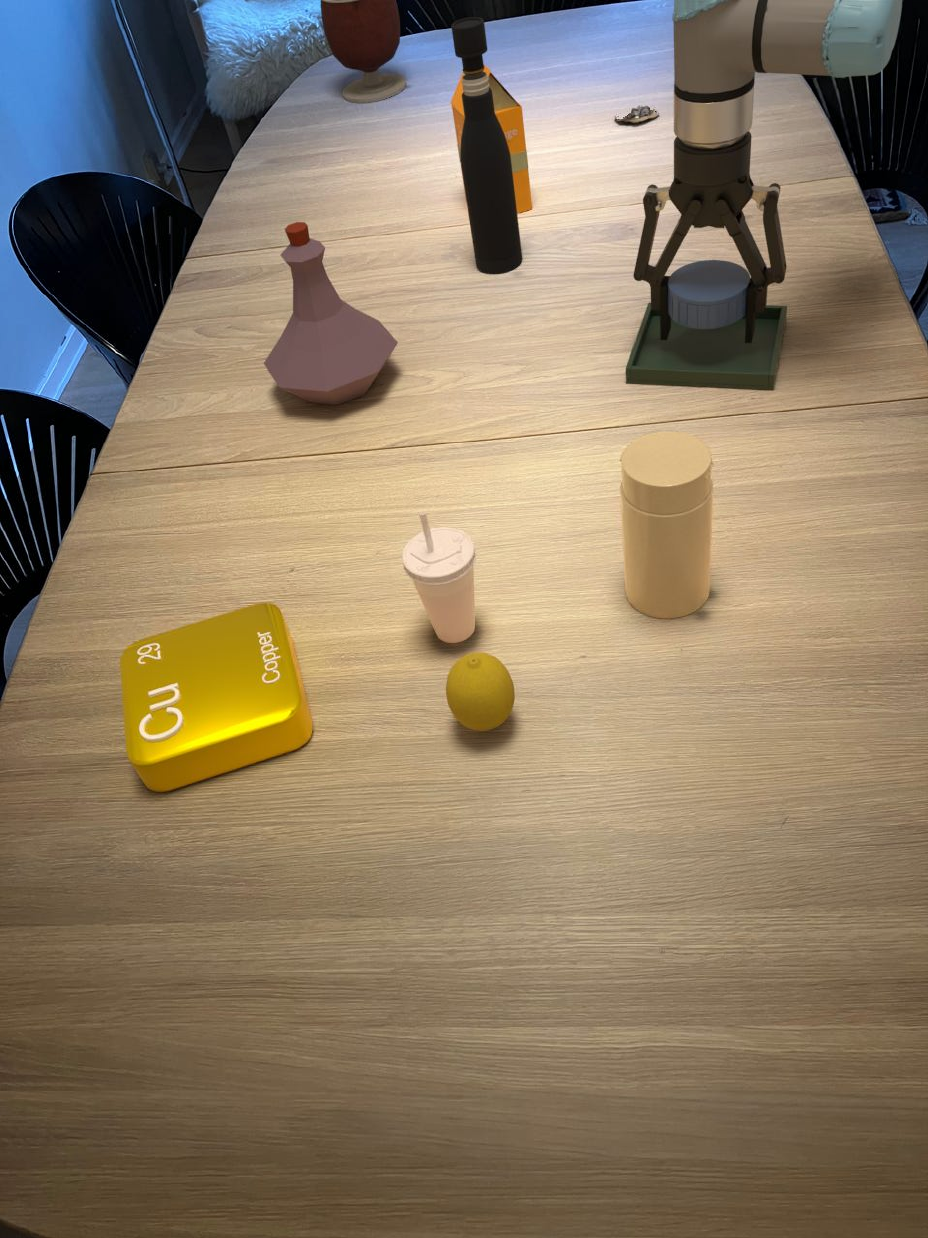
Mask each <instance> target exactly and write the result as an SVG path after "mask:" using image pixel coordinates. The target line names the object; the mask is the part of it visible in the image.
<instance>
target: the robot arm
mask: <svg viewBox="0 0 928 1238" xmlns="http://www.w3.org/2000/svg"><path fill="white" fill-rule="evenodd" d="M902 8H903V0H674V2H673V13H672V17H671V19H672V20H671V21H672V23H673V25H672V26H673V71H674V72H673V73H674V74H673V75H674V77H673V79H674V81H673V133H674V135H675V138H674V140H673V180H672V182H671V184H670V186H663V187H658V186H657V185H656V184H650V185H648V186H647V188H646V190H645V193H644V196H643V198H642V204H643V211H644V222H643V227H642V231H641V236H640V241H639V246H638V251H637V255H636V260H635V265H634V271H633V275H632V276H633V279H634V280H635V281H637V282H641V281H644V282H646V283H647V284H649V287H650V303H651V308H652V310H656V311H660V340H667V339H668V335H669V332H670V329H671V317H670V316H669V313H668V279H669V277H670V276H671V275H666V274H667V272H668V270H669V268H670V266H671V264H672V262H673V260H674V259H675V257H676V255H677V253H678V251H679V249H680V247H681V246H682V243H683V241H684V240H685V238H686V237H687V235H688V233H689V232H690V230H691V227H692V226H693V229H702V228H706V227H711V228H715V229H724V228H725V229H726V231H727V233H728V235H729V237H730V238H732V241H733V243H734V244H735V246H736V249H737V251H738V253H739V255H740V257H741V259H742V261H743V263H744V265H745V268H746V270H747V271H748V273H749V275H750V284H749V287H748V293H747V311H746V329H745V343H752V339H753V335H754V329H755V313H763V312H764V310H765V307H766V305H767V302H768V288H769V286H771V285H772V284H782V283H783V282H784V281H785V279H786V273H787V268H788V266H787V261H786V260H787V259H786V253H785V247H784V239H783V234H782V228H781V222H780V214H779V208H778V203H779V199H780V194H781V189H782V188H781V185H780V184H779V183H777V182H773V183H771V184H770V185H769V186H763V185H755V184H754V181H753V180H752V178H751V154H752V153H751V152H752V138H753V137H752V132H750V130H751V129H752V126H753V118H754V117H753V116H754V115H753V114H754V95H755V80H756V79H755V77H756V76H755V75H756V73H757V74H783V75H784V74H785V75H804V76H807V75H808V76H824V77H825V76H826V77H833V78H837V79H839V78H840V79H844V78H847V77H862V76H864V77H865V76H874V75H877V74H879V73H880V72H882V71H883V70H884V69H885V68H886V66H887V65H888V64H889V61H890V60H891V56H892V52H893V50H894V47H895V45H896V41H897V38H898V33H899V27H900V22H901V16H902ZM669 200H670V202H671V203H672V204H673V206H674V207H675V208H676V210H677V211H678V212H679V213H680V216H679V219H678V221H677V222H676V223H677V224H675V227H674V229H673V231H672V233H671V235H670V236H669V239H668V241H667V242H666V245H665V247H664V249H663V250H662V253H661V254H660V256H659V258H658V260H657V262H656V264H655V265H650V264H649V263H650V259H651V256H652V255H651V254H652V250H653V245H654V241H655V236H656V231H657V226H658V222H659V217H660V212H661V211H663V210H664V208H665V206H666V204H667V202H668V201H669ZM751 200H754V201H755V203H756V207H757V209H758V210H759V211H761V212H762V223H763V224H762V225H763V229H764V230H763V231H764V235H765V240H766V248H767V254H768V259H769V265H770V266H769V267H768V266H767V264H766V262H765V259H764V257H763V255H762V253H761V251H760V249H759V247H758V245H757V243H756V242H757V241H756V240H755V238H754V236H753V234H752V231H751V230H750V228H749V226H748V223H747V221H746V216H745V214H744V212H743V209H744V208H745V207H746V206H747V205H748V203H749V202H750V201H751Z"/></svg>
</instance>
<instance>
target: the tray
mask: <svg viewBox="0 0 928 1238" xmlns="http://www.w3.org/2000/svg"><path fill="white" fill-rule="evenodd" d="M787 315H788V305H777V304H776V305H774V304H773V305H772V304H766V307H765V310H764V312H763V313H755V329H754V335H753V339H752V343H745V329H746V314H745V316H744V317H743V318H741V319H740V320H738V321H737V322H735V323H733V324H730V325H728V326H724V327H720V328H714V329H695V328H689V327H686V326H682V325H680V324H678V323H676V322H675V321H674V320H672V318H671V329H670V332H669V335H668V339H667V340H660V311H656V310H652V308H651V302H648V303H647V306H646V308H645V311H644V315H643V317H642V320H641V323H640V325H639V328H638V332H637V334H636V337H635V340H634V343H633V346H632V349H631V350H630V355H629V357H628V360H627V363H626V365H625V383H626V384H632V385H633V384H635V385H636V384H637V385H656V386H657V385H658V386H676V387H677V386H678V387H697V388H717V389H718V388H720V389H721V388H722V389H723V388H724V389H740V390H741V389H742V390H760V391H761V390H762V391H763V390H764V391H774V390H775V383H776V380H777V379H776V378H777V372H778V366H779V361H780V356H781V352H782V351H781V350H782V345H783V340H784V336H785V335H784V334H785V329H786V323H787Z"/></svg>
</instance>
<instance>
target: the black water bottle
mask: <svg viewBox="0 0 928 1238" xmlns="http://www.w3.org/2000/svg"><path fill="white" fill-rule="evenodd" d="M450 27H451V28H450V29H451V34H452V41H453V49H454V54H455V57H456V58H460V59H461V63H462V73H464V74H465V75H464V76H463V77H462V85H463V88H462V89H463V91H464V92H463V94H462V102H463V109H464V116H465V119H464V125H463V131H462V137H461V154H460V159H459V162H460V161H461V164H460V169H461V168H462V171H461V175H462V174H463V177H462V182H463V181H464V184H463V189H464V188H465V191H464V195H465V194H466V197H465V202H466V201H467V202H466V207H467V214H468V221H469V227H470V235H471V241H472V247H473V253H474V260H475V266H476V269H477V270H479V271H480V272H481V273H484V274H490V275H497V274H498V275H499V274H503V273H507V272H508V273H509V272H510V271H513V270H515V269H516V268H518V267H519V266H520V265H521V264H522V262H523V252H522V243H521V234H520V227H519V217H518V214H517V207H516V199H515V190H514V181H513V173H512V164H511V155H510V151H509V147H508V144H507V141H506V137H505V134H504V132H503V130H502V127H501V125H500V123H499V121H498V119H497V116H496V114H495V111H494V102H493V94H492V90H491V88H489V85H490V84H489V82H488V80H489V78H488V76H487V73H486V72H484V71H483V70H484V69H485V67H484V65H485V63H484V57H483V55H484V54H486V53H487V51H488V43H487V36H486V35H487V34H486V27H485V20H484V19H483V18H482V17H478V16H470V17H469V16H468V17H463V18H461V19H458V20H456V21H454V22H453V23H452V24H451V26H450Z"/></svg>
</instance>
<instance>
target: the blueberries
mask: <svg viewBox="0 0 928 1238" xmlns="http://www.w3.org/2000/svg"><path fill="white" fill-rule="evenodd" d="M650 107H651V106H648V105H644V106H643V105H638V106H637V107H636V108H635V107H633V108H631V110H630V111H631V113H629V114H628V115H627V116H625V117H623V119H619V120H617V121H618V122H624V123H625V122H626V123H628V122H630V123H634V124H635V123H639V122H643V121H646V120H648V119H653V118H654V119H655V118H656V117H658V116H660V114H659V115H658V114H657V113H656V112H655V109H653V110H650ZM614 117H615V118H617V117H619V116H617V117H616V116H615V115H614ZM615 118H614V119H615Z"/></svg>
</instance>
